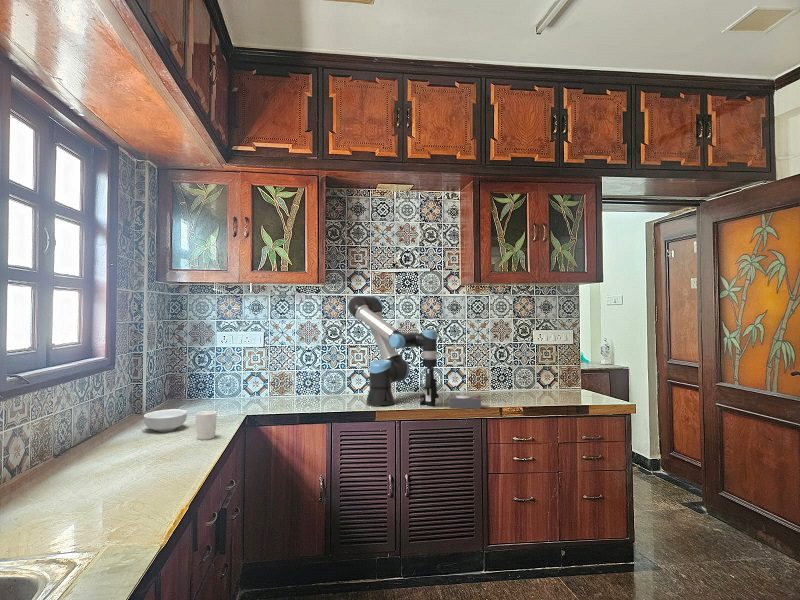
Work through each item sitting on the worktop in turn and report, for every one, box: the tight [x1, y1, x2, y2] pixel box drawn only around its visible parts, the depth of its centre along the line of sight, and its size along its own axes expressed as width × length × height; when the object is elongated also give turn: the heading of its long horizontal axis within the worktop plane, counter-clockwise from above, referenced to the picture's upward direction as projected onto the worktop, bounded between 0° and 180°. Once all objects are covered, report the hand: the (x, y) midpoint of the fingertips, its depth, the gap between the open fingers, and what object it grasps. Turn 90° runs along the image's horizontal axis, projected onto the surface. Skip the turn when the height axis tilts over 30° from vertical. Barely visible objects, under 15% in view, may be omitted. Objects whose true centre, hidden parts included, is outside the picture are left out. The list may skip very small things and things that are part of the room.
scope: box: [418, 378, 439, 407], centre depth 264 cm, size 8×14×10 cm
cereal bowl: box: [143, 408, 188, 433], centre depth 212 cm, size 17×17×7 cm
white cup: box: [195, 410, 218, 441], centre depth 199 cm, size 8×8×10 cm
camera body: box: [449, 394, 482, 410], centre depth 260 cm, size 16×8×6 cm, turn 79°
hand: (429, 399), depth 264 cm, fingers open, 12 cm apart
